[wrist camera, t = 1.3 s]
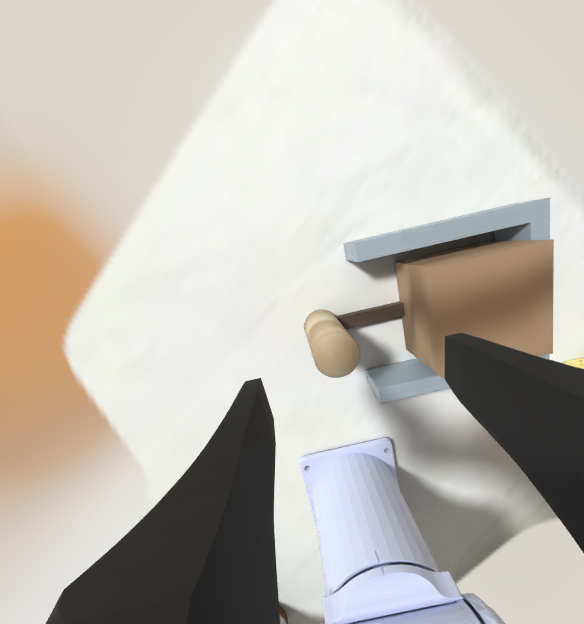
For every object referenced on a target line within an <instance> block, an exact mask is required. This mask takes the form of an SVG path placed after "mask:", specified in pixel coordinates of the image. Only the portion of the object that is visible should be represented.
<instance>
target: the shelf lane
mask: <svg viewBox="0 0 584 624" xmlns="http://www.w3.org/2000/svg"><path fill="white" fill-rule="evenodd" d="M491 231H494V236H495V241H514V240H550V198H545V199H539V200H534V201H528V202H523V203H517V204H511V205H507V206H502V207H498V208H494V209H489V210H485V211H481V212H477V213H472V214H468V215H464V216H459V217H455V218H451V219H446V220H442V221H438V222H434V223H429V224H425V225H421V226H416V227H412V228H408V229H403V230H399V231H395V232H391V233H386V234H382V235H378V236H373V237H369V238H365V239H360V240H356V241H352V242H347V243H343V244H344V250H345V255H346V260H349V261H354V262H361V261H366V260H370V259H374V258H379V257H383V256H387V255H391V254H396V253H400V252H404V251H409V250H413V249H417V248H422V247H426V246H430V245H435V244H439V243H443V242H448V241H452V240H456V239H461V238H465V237H469V236H474V235H478V234H482V233H487V232H491ZM538 357H542V358H545V359H548V360H549V354H547V355H543V356H538ZM366 375H367V381H368V384H369V386H370V387H371V389H372V390H373V392H374V394H375V395H376V397H377V398H378V400H379V401H380V403H381V404H382V403H386V402H390V401H395V400H399V399H404V398H408V397H413V396H417V395H421V394H426V393H430V392H435V391H439V390H444V389H448V388H450V387H449V385H448V384H447V382H446V381H445V378H442V377H440V376H439V375H438V374H437V373H435V372H434V371H433V370H432V369H430V368H429V367H428V366H427V365H425V364H424V363H423V362H422V361H420V360H419V359H418V358H417V359H412V360H408V361H403V362H399V363H395V364H390V365H386V366H381V367H377V368H373V369H368V370H366Z"/></svg>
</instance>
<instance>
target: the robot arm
mask: <svg viewBox="0 0 584 624" xmlns="http://www.w3.org/2000/svg"><path fill="white" fill-rule="evenodd" d="M445 381H446V382H447V384H448V385H449V387H450V388H451V390H452V391H453V393H454V394H455V395H456V397H457V398H458V399H459V401H460V402H461V403H462V404H463V405H464V407H465V408H466V409H467V410H468V411H469V412H470V413H471V414H472V415H473V416H474V418H475V419H476V420H477V421H478V422H479V423H480V424H481V425H482V426H483V427H484V428H485V429H486V430H487V431H488V433H489V434H490V435H491V436H492V437H493V438H494V439H495V440H496V441H497V442H498V443H499V444H500V445H501V447H502V448H503V449H504V450H505V451H506V452H507V453H508V454H509V455H510V456H511V458H512V459H513V460H514V461H515V462H516V463H517V464H518V466H519V467H520V468H521V469H522V471H523V472H524V473H525V474H526V476H527V477H528V478H529V480H530V481H531V482H532V483H533V485H534V486H535V487H536V488H537V490H538V491H539V492H540V494H541V495H542V496H543V498H544V499H545V500H546V502H547V503H548V504H549V506H550V507H551V508H552V510H553V511H554V512H555V514H556V515H557V516H558V518H559V519H560V520H561V522H562V523H563V524H564V526H565V527H566V529H567V530H568V531H569V533H570V534H571V535H572V537H573V538H574V540H575V541H576V542H577V544H578V545H579V547H580V548H581V550H582V551H583V553H584V369H582V368H578V367H574V366H570V365H566V364H563V363H559V362H556V361H552V360H548V359H545V358H542V357H538V356H535V355H532V354H528V353H525V352H522V351H519V350H516V349H513V348H509V347H506V346H503V345H500V344H497V343H494V342H491V341H488V340H485V339H482V338H478V337H475V336H472V335H468V334H464V333H457V334H453V335H448V336H445ZM275 446H276V442H275V430H274V418H273V415H272V412H271V409H270V405H269V402H268V399H267V396H266V393H265V390H264V387H263V384H262V380H261V378H258V379H254V380H250V381H245V383H244V384H243V386H242V388H241V390H240V391H239V393H238V395H237V397H236V399H235V400H234V402H233V404H232V406H231V407H230V409H229V411H228V412H227V414H226V416H225V417H224V419H223V421H222V422H221V424H220V425H219V427H218V429H217V430H216V432H215V433H214V434H213V436H212V437H211V439H210V440H209V442H208V443H207V445H206V446H205V448H204V449H203V450H202V452H201V453H200V455H199V456H198V457H197V459H196V460H195V461H194V462H193V464H192V465H191V466H190V467H189V469H188V470H187V471H186V472H185V473H184V475H183V476H182V477H181V478H180V479H179V480H178V481H177V483H176V484H175V485H174V486H173V487H172V488H171V489H170V490H169V491H168V492H167V494H166V495H165V496H164V497H163V498H162V499H161V500H160V501H159V502H158V504H157V505H156V506H155V507H154V508H153V509H152V510H151V511H150V512H149V513H148V514H147V515H146V516H145V517H144V518H143V519H142V520H141V521H140V522H139V523H138V524H137V525H136V526H135V527H134V528H133V529H131V530H130V531H129V532H128V533H127V534H126V535H125V536H124V537H123V538H122V539H121V540H120V541H119V542H118V543H117V544H116V545H115V546H113V547H112V548H111V549H110V550H109V551H108V552H107V553H106V554H105V555H103V556H102V557H101V558H100V559H99V560H98V561H96V562H95V563H94V564H93V565H92V566H91V567H90V568H89V569H87V570H86V571H85V572H84V573H83V574H82V575H80V576H79V577H78V578H77V579H76V580H75V581H74V582H72V583H71V584H70V585H69V586H68V587H67V588H65V589H64V591H63V592H62V594H61V596H60V598H59V600H58V601H57V603H56V605H55V608H54V609H53V611H52V613H51V615H50V617H49V618H48V621H47V622H46V624H280V615H279V601H278V587H277V571H276V556H275V537H274V479H275ZM386 448H388V449H387V450H385V449H386ZM300 466H301V469H302V473H303V477H304V481H305V485H306V489H307V492H308V496H309V500H310V504H311V508H312V511H313V515H314V519H315V523H316V527H317V531H318V538H319V545H320V553H321V560H322V568H323V575H324V583H325V590H326V596H325V597H323V598H322V601H323V610H324V618H325V624H505V623H504V622H503V620H502V619H501V618H500V617H499V616H498V615H497V614H496V613H495V612H494V611H493V610H492V609H491V608H490V607H489V606H487V605H486V604H485V603H484V602H483V601H482V600H481V599H480V598H479V597H477V596H476V595H475V594H471V593H466V594H462V595H461V593H460V591H459V589H458V587H457V585H456V583H455V581H454V580H453V578H452V576H451V574H450V572H448V571H445V572H440V571H439V569H438V567H437V564H436V562H435V560H434V558H433V556H432V554H431V552H430V550H429V548H428V546H427V544H426V542H425V540H424V538H423V536H422V534H421V532H420V530H419V528H418V526H417V524H416V522H415V520H414V518H413V516H412V514H411V512H410V510H409V508H408V505H407V503H406V501H405V499H404V497H403V495H402V493H401V491H400V489H399V485H398V479H397V473H396V467H395V460H394V454H393V448H392V443H391V441H390V440H389V439H388V438H382V439H377V440H373V441H368V442H364V443H359V444H355V445H350V446H346V447H342V448H337V449H333V450H328V451H324V452H319V453H315V454H310V455H306V456H303V457H301V459H300ZM305 466H309V467H305ZM322 624H323V623H322Z"/></svg>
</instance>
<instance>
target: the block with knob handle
mask: <svg viewBox="0 0 584 624" xmlns="http://www.w3.org/2000/svg"><path fill="white" fill-rule="evenodd" d="M395 268H396V275H397V283H398V290H399V298H400V301H399V302H395V303H391V304H386V305H382V306H378V307H373V308H369V309H365V310H360V311H356V312H352V313H347V314H343V315H339V316H334V315H333V314H332V313H331V312H329V311H327V310H316V311H314V312H312V313H311V314H309V315H308V317H307V318H306V320H305V323H304V329H305V333H306V336H307V339H308V342H309V346H310V349H311V352H312V355H313V359H314V362H315V365H316V367H317V368H318V370H319V371H320V372H321V373H322V374H324V375H326V376H328V377H333V378H339V377H343V376H346V375H348V374H350V373H351V372H352V371H353V370H354V369H355V368H356V367H357V365H358V363H359V360H360V350H359V347H358V345H357V343H356V342H355V341H354V339H353V338H352V337H351V336H350V334H349V333H348V332H347V331H346V329H349V328H354V327H358V326H362V325H367V324H371V323H375V322H380V321H384V320H388V319H393V318H397V317H401V316H402V320H403V328H404V335H405V343H406V349H407V350H408V351H409V352H410V353H412V354H413V355H414V356H415V357H417V358H418V359H419V360H420V361H422V362H423V363H424V364H425V365H427V366H428V367H429V368H430V369H432V370H433V371H434V372H435V373H437V374H438V375H439V376H440V377H442V378H445V336H448V335H453V334H457V333H464V334H468V335H472V336H475V337H478V338H482V339H485V340H488V341H491V342H494V343H497V344H500V345H503V346H506V347H509V348H513V349H516V350H519V351H522V352H525V353H528V354H532V355H535V356H543V355H547V354H551V353H553V240H514V241H486V242H482V243H477V244H473V245H469V246H464V247H460V248H456V249H451V250H447V251H443V252H438V253H434V254H430V255H426V256H421V257H417V258H413V259H408V260H404V261H400V262H395Z"/></svg>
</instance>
